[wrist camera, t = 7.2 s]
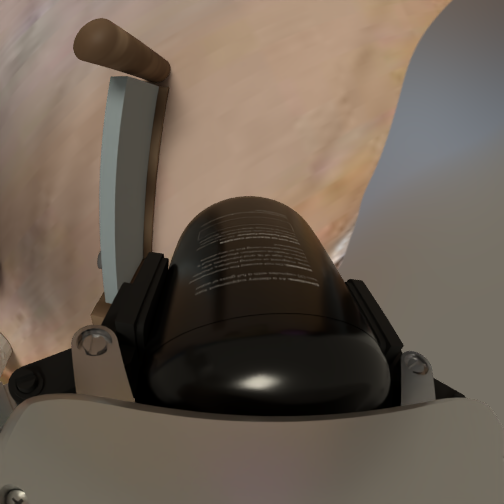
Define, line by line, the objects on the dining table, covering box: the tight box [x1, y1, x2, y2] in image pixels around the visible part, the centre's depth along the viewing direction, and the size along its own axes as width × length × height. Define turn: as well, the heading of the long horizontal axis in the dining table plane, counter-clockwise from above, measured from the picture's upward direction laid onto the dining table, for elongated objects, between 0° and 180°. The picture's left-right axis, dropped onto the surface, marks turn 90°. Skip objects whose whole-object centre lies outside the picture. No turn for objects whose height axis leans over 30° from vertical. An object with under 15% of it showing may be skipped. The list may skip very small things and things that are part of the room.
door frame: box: [73, 18, 170, 325], centre depth 19 cm, size 23×3×13 cm, turn 169°
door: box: [97, 76, 159, 304], centre depth 21 cm, size 17×3×8 cm, turn 169°
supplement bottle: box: [135, 196, 391, 416], centre depth 9 cm, size 7×7×12 cm
